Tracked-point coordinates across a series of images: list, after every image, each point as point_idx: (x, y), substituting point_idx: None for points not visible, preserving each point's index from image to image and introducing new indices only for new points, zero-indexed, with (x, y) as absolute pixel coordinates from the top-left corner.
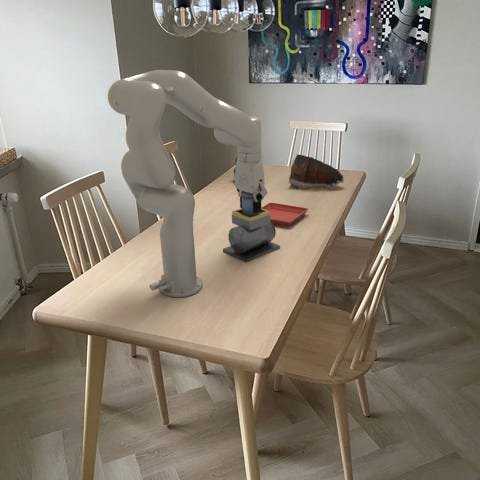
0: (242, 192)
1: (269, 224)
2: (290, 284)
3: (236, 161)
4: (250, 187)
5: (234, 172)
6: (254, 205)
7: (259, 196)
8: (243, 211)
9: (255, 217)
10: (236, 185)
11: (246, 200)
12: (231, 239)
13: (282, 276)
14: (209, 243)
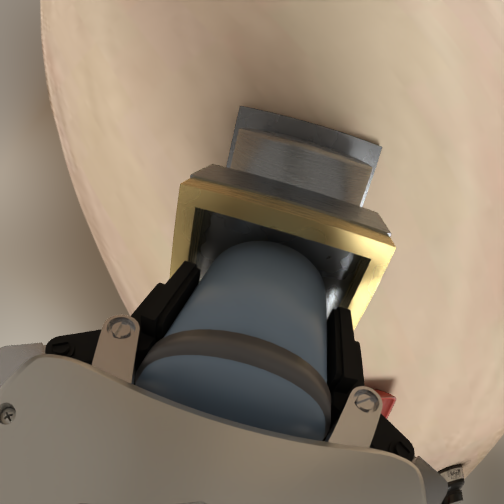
0: (320, 425)
1: None
2: (72, 88)
3: (460, 497)
4: (42, 428)
5: (462, 479)
6: (157, 295)
7: (63, 348)
8: (290, 261)
9: (178, 233)
10: (397, 492)
11: (222, 320)
12: (348, 157)
13: (102, 105)
14: (456, 191)
